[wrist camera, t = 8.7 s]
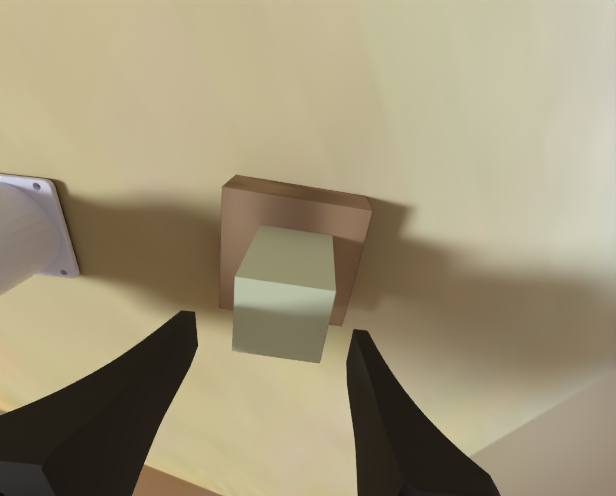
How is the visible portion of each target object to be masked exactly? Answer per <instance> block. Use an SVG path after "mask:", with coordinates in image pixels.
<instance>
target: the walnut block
mask: <svg viewBox="0 0 616 496" xmlns="http://www.w3.org/2000/svg"><path fill="white" fill-rule="evenodd" d="M371 215H372V209H371V206H370V204H369V202H368V200H367V197H366V196H363V195H357V194H350V193H344V192H338V191H332V190H326V189H320V188H314V187H308V186H301V185H295V184H289V183H283V182H277V181H271V180H265V179H258V178H252V177H246V176H240V175H235V176H234V177H233V178H231V179H230V180H229V181H228V182H227V183H226V184H225V185H223V186H222V207H221V255H220V303H219V308H223V309H229V310H234V284H235V275H236V273H237V271H238V269H239V267H240V265H241V263H242V261H243V259H244V257H245V255H246V253H247V251H248V249H249V247H250V245H251V243H252V241H253V239H254V237H255V235H256V233H257V231H258V229H259V227H260V225H265V226H272V227H278V228H285V229H292V230H298V231H305V232H312V233H319V234H325V235H332V237H333V253H334V268H335V284H336V294H335V298H334V302H333V307H332V311H331V316H330V320H329V324H330V325H336V326H342V324H343V321H344V317H345V313H346V309H347V306H348V302H349V298H350V294H351V290H352V287H353V283H354V279H355V275H356V272H357V268H358V264H359V260H360V257H361V253H362V249H363V245H364V241H365V238H366V234H367V230H368V226H369V223H370V219H371Z"/></svg>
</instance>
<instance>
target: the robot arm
mask: <svg viewBox="0 0 616 496" xmlns="http://www.w3.org/2000/svg"><path fill="white" fill-rule="evenodd" d="M38 184H39V185H40V187H39V186H38ZM35 274H38V275H47V276H57V277H66V278H75V277H77V276H78V275H79V274H80V272H79V268H78V265H77V261H76V258H75V254H74V251H73V247H72V244H71V240H70V237H69V233H68V230H67V227H66V223H65V220H64V216H63V213H62V209H61V206H60V202H59V199H58V195H57V192H56V188H55V186H54V184H53V183H52V181H50V180H48V179H43V178H34V177H25V176H16V175H7V174H0V295H2V294H4V293H5V292H7V291H9V290H10V289H12V288H14V287H15V286H17V285H19V284H20V283H22V282H23V281H25V280H27V279H28V278H30V277H32V276H33V275H35ZM197 347H198V340H197V328H196V317H195V312H192V311H180V312H179V313H178V314H176V315H175V316H174V317H172V318H171V319H170V320H169V321H167V322H166V323H165V324H164V325H162V326H161V327H160V328H158V329H157V330H156V331H155V332H153V333H152V334H151V335H149V336H148V337H147V338H145V339H144V340H143V341H141V342H140V343H139V344H137V345H136V346H134V347H133V348H131V349H130V350H129V351H127V352H126V353H124V354H123V355H121V356H120V357H118V358H117V359H115V360H114V361H112V362H110V363H109V364H107V365H105V366H104V367H102V368H100V369H99V370H97V371H95V372H93V373H92V374H90V375H88V376H86V377H84V378H82V379H80V380H78V381H76V382H75V383H73V384H71V385H69V386H67V387H65V388H63V389H61V390H59V391H57V392H55V393H52V394H50V395H48V396H46V397H44V398H41V399H39V400H37V401H35V402H32V403H30V404H28V405H25V406H23V407H21V408H18V409H15V410H13V411H10V412H8V413H5V414H3V415H0V496H132V494H133V491H134V488H135V486H136V483H137V480H138V478H139V475H140V472H141V470H142V467H143V465H144V462H145V460H146V457H147V455H148V452H149V450H150V447H151V445H152V442H153V440H154V438H155V435H156V433H157V430H158V428H159V426H160V424H161V422H162V419H163V417H164V415H165V413H166V411H167V410H168V408H169V406H170V404H171V402H172V400H173V398H174V396H175V395H176V393H177V391H178V389H179V387H180V385H181V383H182V381H183V379H184V378H185V376H186V374H187V372H188V370H189V368H190V366H191V363H192V361H193V358H194V355H195V353H196V350H197ZM346 366H347V387H348V395H349V402H350V409H351V416H352V423H353V430H354V438H355V448H356V467H357V491H358V496H501V495H500V493H499V491H498V489H497V487H496V486H495V484H494V482H493V480H492V478H491V476H490V475H489V474H488V473H487V472H485V471H484V470H483V469H482V468H481V467H479V466H478V465H477V464H476V463H474V462H473V461H472V460H471V459H470V458H469V457H467V456H466V455H465V454H464V453H463V452H462V451H461V450H459V449H458V448H457V447H456V446H455V445H454V444H453V443H452V442H451V441H450V440H449V439H448V438H447V437H446V436H445V435H444V434H442V432H441V431H440V430H439V429H438V428H437V427H436V426H435V425H434V424H433V423H432V422H431V421H430V420H429V419H428V418H427V417H426V416H425V415H424V413H423V412H422V411H421V410H420V409H419V408H418V407H417V405H416V404H415V403H414V402H413V400H412V399H411V398H410V397H409V395H408V394H407V393H406V392H405V390H404V389H403V388H402V386H401V385H400V383H399V382H398V381H397V379H396V378H395V376H394V375H393V373H392V372H391V370H390V369H389V367H388V365H387V364H386V362H385V361H384V359H383V357H382V356H381V354H380V352H379V351H378V349H377V347H376V345H375V344H374V342H373V340H372V338H371V336H370V334H369V332H368V331H366V330H357V329H354V330H353V334H352V339H351V343H350V348H349V352H348V357H347V361H346Z"/></svg>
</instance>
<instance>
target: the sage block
mask: <svg viewBox="0 0 616 496" xmlns="http://www.w3.org/2000/svg"><path fill="white" fill-rule="evenodd" d="M335 294H336V284H335V268H334V253H333V237H332V235H325V234H319V233H312V232H305V231H298V230H292V229H285V228H278V227H272V226H265V225H260V227H259V229H258V231H257V233H256V235H255V237H254V239H253V241H252V243H251V245H250V247H249V249H248V251H247V253H246V255H245V257H244V259H243V261H242V263H241V265H240V267H239V269H238V271H237V273H236V275H235V284H234V312H233V339H232V351H235V352H242V353H249V354H257V355H264V356H271V357H278V358H285V359H292V360H299V361H307V362H314V363H320V360H321V356H322V351H323V347H324V343H325V338H326V334H327V329H328V325H329V320H330V316H331V311H332V307H333V302H334V298H335Z"/></svg>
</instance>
